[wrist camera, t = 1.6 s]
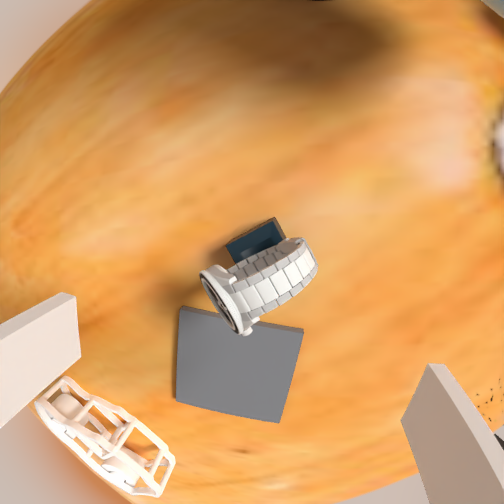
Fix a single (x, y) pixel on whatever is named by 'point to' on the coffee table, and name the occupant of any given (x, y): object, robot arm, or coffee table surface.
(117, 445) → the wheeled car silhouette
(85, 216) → the coffee table surface
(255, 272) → the watch
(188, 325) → the mat
